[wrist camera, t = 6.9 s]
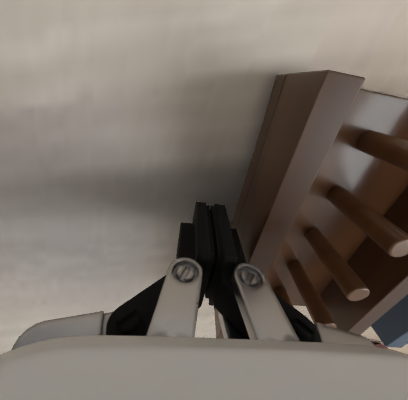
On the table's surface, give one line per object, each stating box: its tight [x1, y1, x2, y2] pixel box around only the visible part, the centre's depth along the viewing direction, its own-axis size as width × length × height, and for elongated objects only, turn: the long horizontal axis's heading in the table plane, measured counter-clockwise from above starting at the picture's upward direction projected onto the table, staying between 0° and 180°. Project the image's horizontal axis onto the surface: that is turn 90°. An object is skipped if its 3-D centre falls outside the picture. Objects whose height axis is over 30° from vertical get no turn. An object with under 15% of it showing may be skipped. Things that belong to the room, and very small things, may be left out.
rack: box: [214, 70, 408, 339], centre depth 11 cm, size 10×16×6 cm, turn 171°
